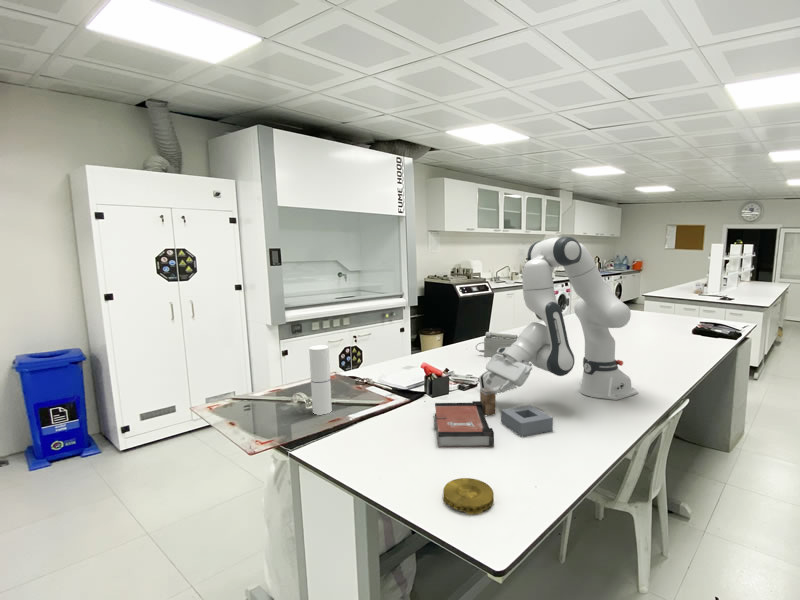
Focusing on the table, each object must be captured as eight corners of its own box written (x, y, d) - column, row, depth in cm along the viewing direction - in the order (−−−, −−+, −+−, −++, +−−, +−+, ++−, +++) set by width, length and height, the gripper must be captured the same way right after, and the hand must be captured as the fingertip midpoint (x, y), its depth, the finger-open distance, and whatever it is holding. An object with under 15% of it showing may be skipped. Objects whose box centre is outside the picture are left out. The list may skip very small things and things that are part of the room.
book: (433, 414, 155) (433, 401, 155) (481, 414, 154) (481, 401, 154) (436, 448, 129) (436, 433, 129) (493, 448, 128) (493, 432, 128)
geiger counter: (522, 333, 223) (477, 330, 236) (518, 336, 218) (473, 332, 231) (522, 359, 225) (477, 354, 238) (518, 362, 219) (473, 356, 233)
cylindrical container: (315, 416, 155) (312, 350, 152) (310, 410, 161) (306, 346, 158) (334, 413, 158) (331, 347, 155) (328, 406, 164) (325, 344, 161)
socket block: (530, 417, 149) (530, 405, 149) (552, 430, 138) (552, 417, 138) (500, 422, 146) (501, 409, 145) (521, 436, 134) (521, 423, 134)
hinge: (489, 396, 171) (483, 372, 173) (481, 397, 175) (475, 373, 177) (517, 387, 180) (511, 364, 182) (509, 388, 184) (503, 366, 186)
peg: (489, 410, 157) (489, 386, 156) (495, 414, 153) (495, 390, 152) (480, 411, 156) (480, 388, 154) (485, 415, 152) (485, 391, 151)
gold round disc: (476, 522, 94) (476, 513, 94) (433, 502, 102) (433, 493, 102) (502, 497, 103) (502, 489, 103) (461, 480, 111) (461, 473, 111)
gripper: (539, 370, 147) (515, 401, 145) (506, 357, 166) (484, 384, 164) (529, 359, 145) (504, 390, 143) (496, 347, 164) (474, 374, 162)
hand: (493, 387), depth 154 cm, fingers open, 8 cm apart
